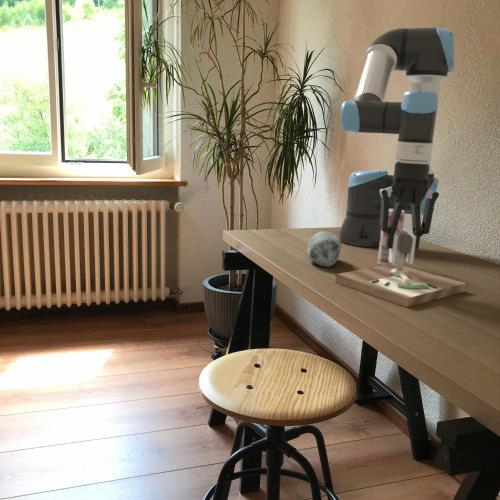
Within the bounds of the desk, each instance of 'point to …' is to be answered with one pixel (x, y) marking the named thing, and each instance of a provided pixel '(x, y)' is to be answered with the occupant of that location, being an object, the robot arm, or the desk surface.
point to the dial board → (401, 285)
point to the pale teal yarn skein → (324, 248)
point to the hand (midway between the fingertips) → (400, 261)
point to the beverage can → (383, 249)
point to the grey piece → (402, 254)
